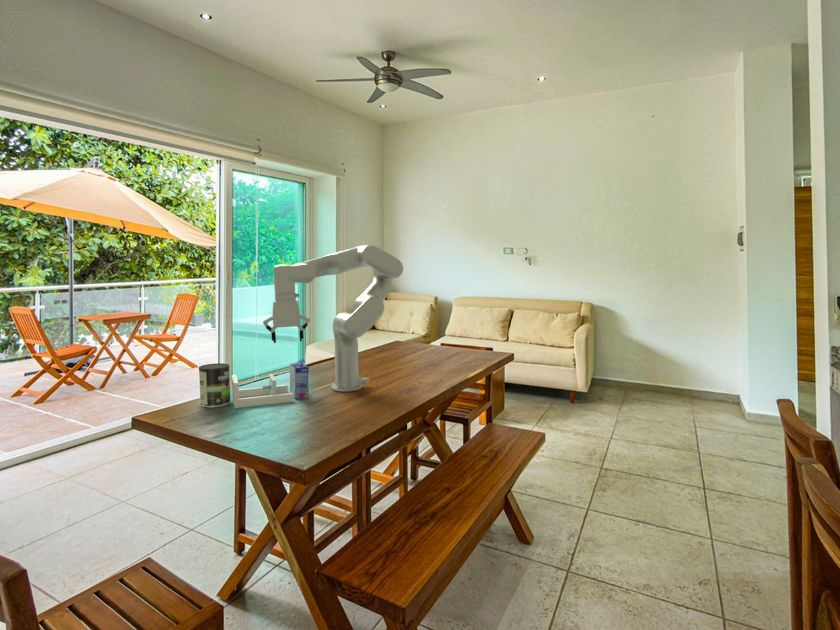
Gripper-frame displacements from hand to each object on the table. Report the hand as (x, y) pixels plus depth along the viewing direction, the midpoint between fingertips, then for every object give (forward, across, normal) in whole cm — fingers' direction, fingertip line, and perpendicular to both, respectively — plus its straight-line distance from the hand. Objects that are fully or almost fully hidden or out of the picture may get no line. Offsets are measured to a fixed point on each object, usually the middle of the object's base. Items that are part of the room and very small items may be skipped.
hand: (287, 341), depth 177 cm
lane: (+21, +10, +2) cm, 23 cm away
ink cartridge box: (+22, -3, 0) cm, 22 cm away
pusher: (+21, +8, +2) cm, 23 cm away
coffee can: (+21, +27, +4) cm, 34 cm away
